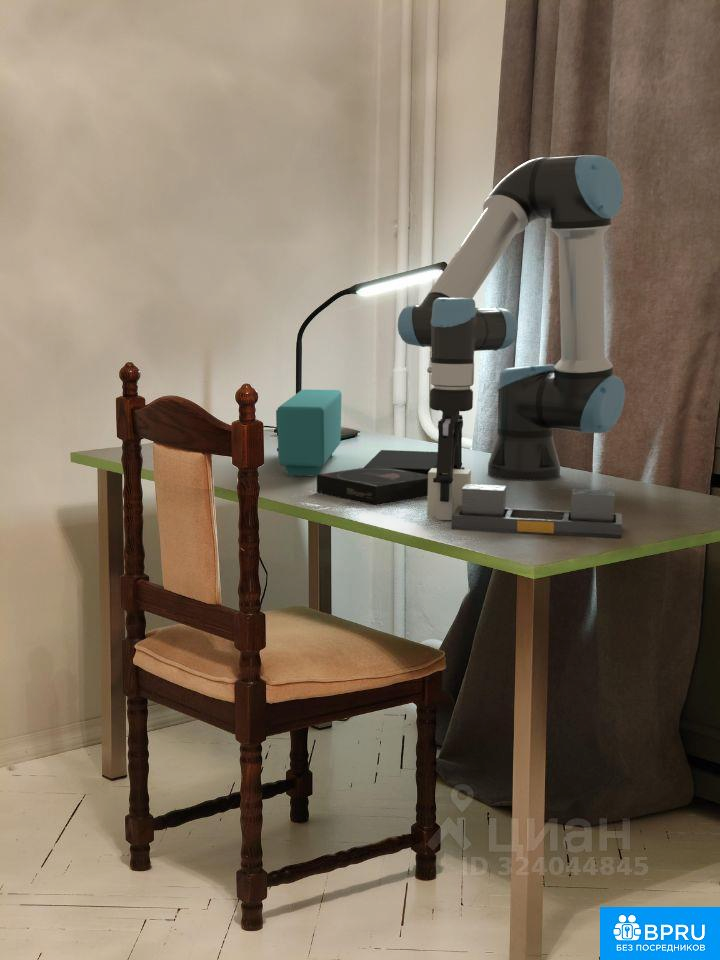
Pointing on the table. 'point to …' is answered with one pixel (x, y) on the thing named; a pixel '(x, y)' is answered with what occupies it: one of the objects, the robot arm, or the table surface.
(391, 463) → the external hard drive
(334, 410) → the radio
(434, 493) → the beige rectangular block
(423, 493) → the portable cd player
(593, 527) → the rack
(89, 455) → the table surface
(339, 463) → the table surface
